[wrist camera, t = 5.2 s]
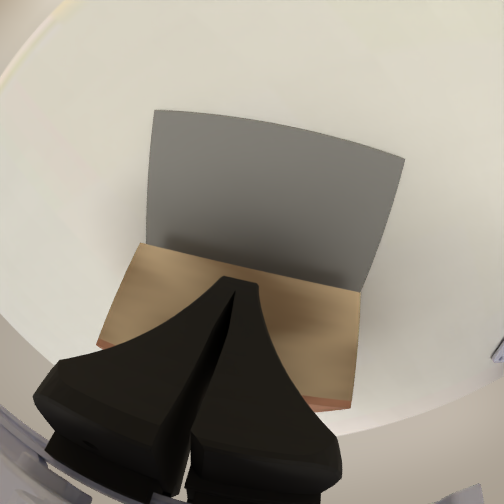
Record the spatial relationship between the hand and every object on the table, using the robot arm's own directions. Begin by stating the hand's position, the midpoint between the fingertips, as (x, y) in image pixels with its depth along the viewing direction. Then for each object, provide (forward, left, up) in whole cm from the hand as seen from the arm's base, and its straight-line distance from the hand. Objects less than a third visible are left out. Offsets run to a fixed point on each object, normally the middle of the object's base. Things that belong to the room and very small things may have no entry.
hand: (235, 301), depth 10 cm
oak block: (0, +2, -3) cm, 4 cm away
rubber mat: (0, +4, -5) cm, 6 cm away
